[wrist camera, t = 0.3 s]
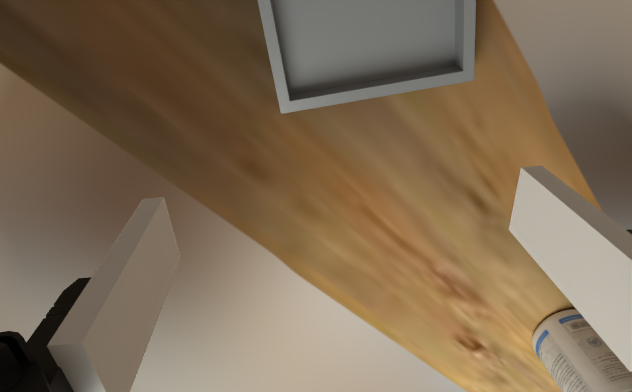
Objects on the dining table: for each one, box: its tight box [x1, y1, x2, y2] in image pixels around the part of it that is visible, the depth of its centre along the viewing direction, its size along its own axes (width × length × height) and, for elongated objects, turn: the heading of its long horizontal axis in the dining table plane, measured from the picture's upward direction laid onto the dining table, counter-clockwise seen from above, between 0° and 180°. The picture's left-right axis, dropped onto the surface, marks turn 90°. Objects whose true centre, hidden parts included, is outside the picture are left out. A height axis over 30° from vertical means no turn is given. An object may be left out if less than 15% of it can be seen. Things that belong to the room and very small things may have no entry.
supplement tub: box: [532, 309, 632, 392], centre depth 52 cm, size 10×10×15 cm
